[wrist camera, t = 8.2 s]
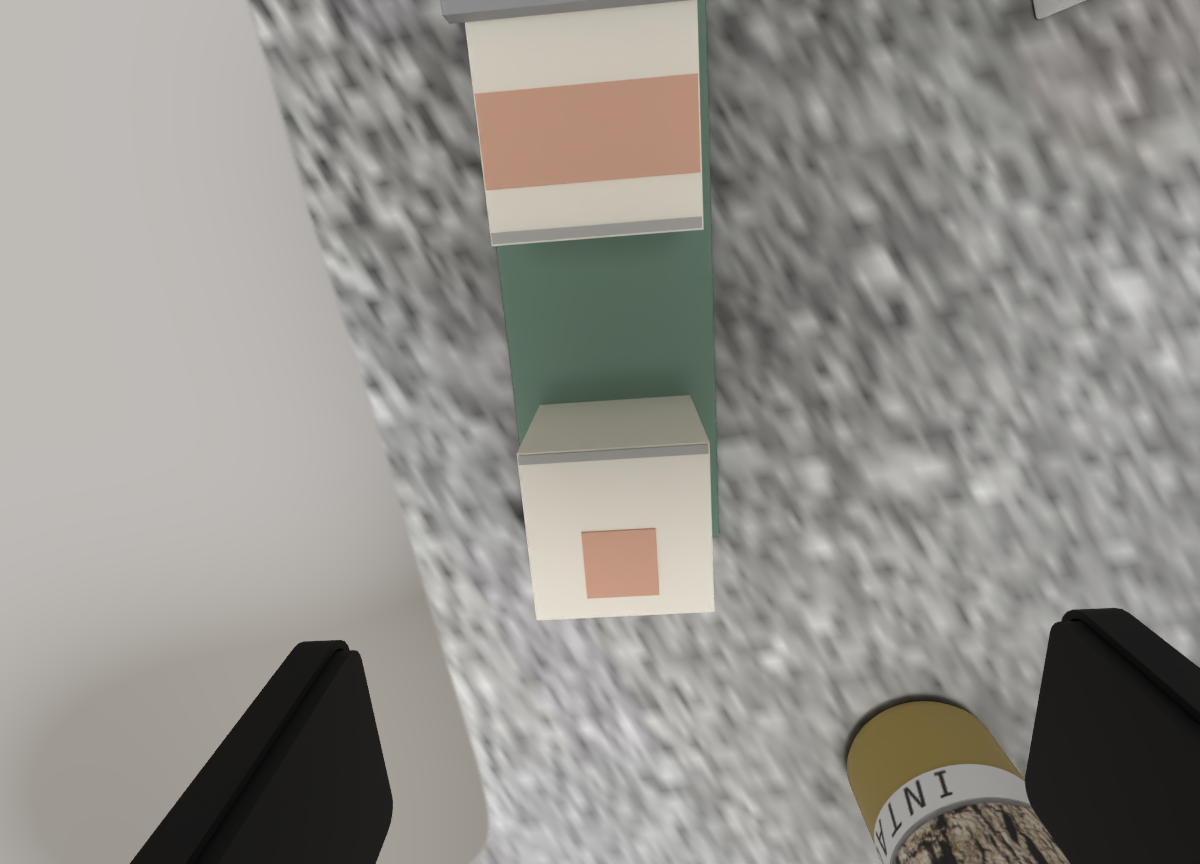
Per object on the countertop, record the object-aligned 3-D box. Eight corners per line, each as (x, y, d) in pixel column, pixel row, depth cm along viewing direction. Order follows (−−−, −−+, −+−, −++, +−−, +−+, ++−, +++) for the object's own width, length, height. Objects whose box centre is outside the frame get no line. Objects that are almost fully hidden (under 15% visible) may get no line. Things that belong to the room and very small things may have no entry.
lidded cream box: (487, 24, 22) (432, -61, 16) (687, 4, 22) (715, -90, 15) (511, 243, 24) (472, 248, 18) (694, 229, 24) (721, 228, 17)
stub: (539, 405, 26) (516, 454, 20) (690, 394, 26) (710, 442, 20) (554, 540, 28) (536, 622, 22) (694, 532, 27) (714, 613, 22)
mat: (458, -85, 21) (456, -89, 21) (701, -111, 21) (702, -115, 21) (532, 543, 28) (531, 546, 28) (717, 533, 28) (718, 536, 27)
